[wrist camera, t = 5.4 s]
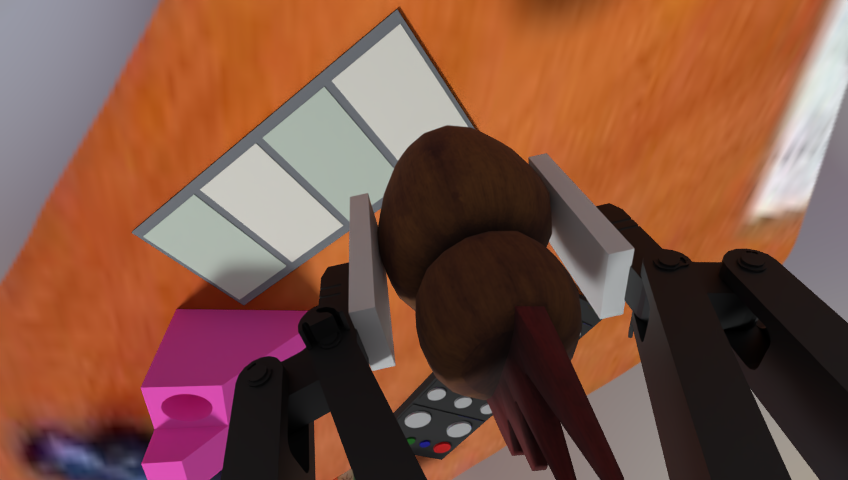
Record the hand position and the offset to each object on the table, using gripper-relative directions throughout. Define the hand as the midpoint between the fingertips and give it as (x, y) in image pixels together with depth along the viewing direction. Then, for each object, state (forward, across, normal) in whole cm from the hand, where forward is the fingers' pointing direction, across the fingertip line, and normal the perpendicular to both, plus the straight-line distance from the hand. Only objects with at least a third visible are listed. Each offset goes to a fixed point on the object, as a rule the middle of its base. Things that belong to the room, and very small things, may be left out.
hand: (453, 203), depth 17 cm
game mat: (+13, +9, +4) cm, 16 cm away
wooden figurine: (+3, 0, 0) cm, 3 cm away
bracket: (+13, +19, +19) cm, 30 cm away
